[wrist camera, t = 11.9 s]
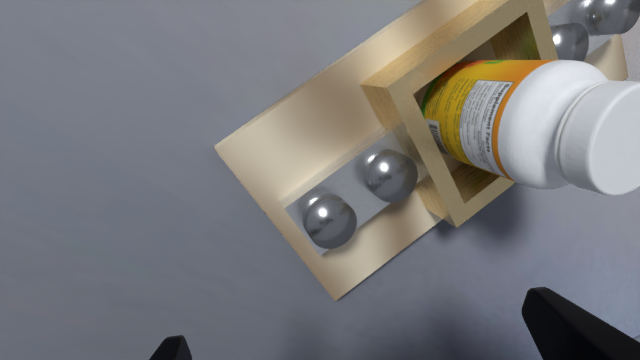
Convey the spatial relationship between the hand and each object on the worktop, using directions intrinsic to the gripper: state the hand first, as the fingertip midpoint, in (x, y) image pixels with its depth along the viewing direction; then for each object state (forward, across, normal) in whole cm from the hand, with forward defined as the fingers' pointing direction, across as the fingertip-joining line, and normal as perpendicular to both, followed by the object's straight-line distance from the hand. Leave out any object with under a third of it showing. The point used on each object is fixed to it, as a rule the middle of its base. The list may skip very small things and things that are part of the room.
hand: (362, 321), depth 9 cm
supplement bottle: (+14, -8, 0) cm, 16 cm away
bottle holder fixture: (+14, -8, 0) cm, 17 cm away
